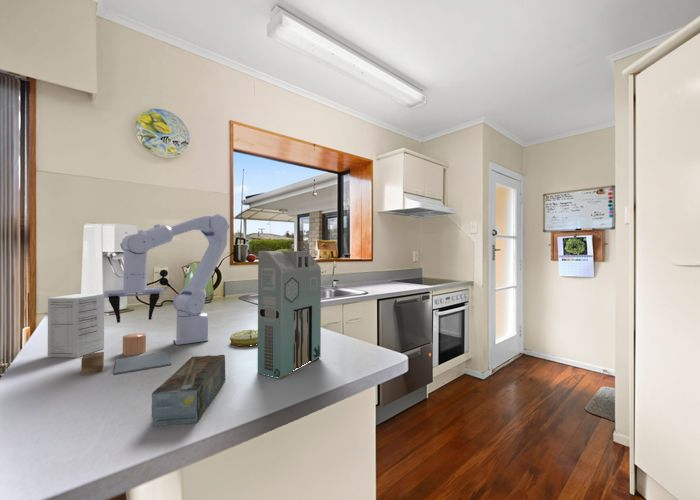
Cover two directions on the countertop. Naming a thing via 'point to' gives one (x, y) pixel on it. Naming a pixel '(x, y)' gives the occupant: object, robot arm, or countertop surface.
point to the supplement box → (75, 325)
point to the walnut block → (92, 363)
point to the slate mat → (141, 362)
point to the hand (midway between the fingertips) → (134, 320)
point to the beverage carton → (188, 391)
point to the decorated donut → (245, 338)
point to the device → (288, 311)
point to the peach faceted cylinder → (134, 344)
